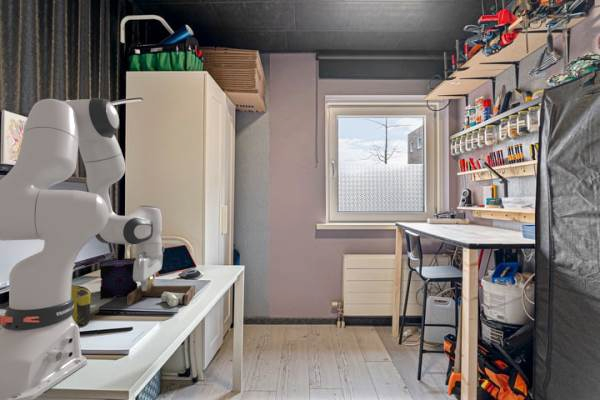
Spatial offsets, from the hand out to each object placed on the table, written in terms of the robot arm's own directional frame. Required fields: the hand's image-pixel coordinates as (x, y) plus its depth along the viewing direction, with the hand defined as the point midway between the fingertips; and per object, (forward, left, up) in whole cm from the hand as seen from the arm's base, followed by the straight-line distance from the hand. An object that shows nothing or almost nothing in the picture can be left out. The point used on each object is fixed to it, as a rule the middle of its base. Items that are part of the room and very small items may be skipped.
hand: (148, 287), depth 128 cm
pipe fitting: (-8, -11, -4) cm, 14 cm away
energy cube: (+6, +13, -4) cm, 15 cm away
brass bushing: (0, 0, -1) cm, 1 cm away
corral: (-3, -6, -4) cm, 8 cm away
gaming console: (-19, +18, -4) cm, 26 cm away
